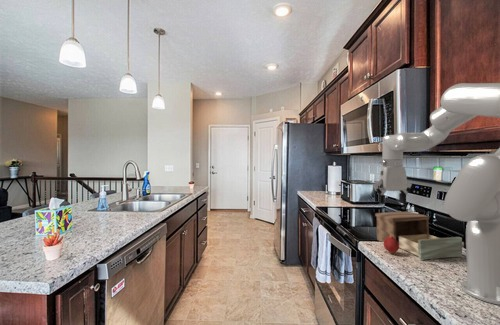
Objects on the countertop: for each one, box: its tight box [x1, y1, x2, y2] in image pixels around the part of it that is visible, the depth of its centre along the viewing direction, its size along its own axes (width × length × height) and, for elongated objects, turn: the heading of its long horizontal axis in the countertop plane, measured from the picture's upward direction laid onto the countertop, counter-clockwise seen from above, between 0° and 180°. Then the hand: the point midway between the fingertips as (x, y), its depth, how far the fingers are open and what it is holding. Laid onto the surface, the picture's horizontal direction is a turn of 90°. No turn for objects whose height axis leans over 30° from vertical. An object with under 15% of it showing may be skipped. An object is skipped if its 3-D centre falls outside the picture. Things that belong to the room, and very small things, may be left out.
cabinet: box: [374, 210, 430, 243], centre depth 117 cm, size 12×19×14 cm
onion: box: [383, 235, 400, 254], centre depth 103 cm, size 6×6×8 cm
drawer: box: [398, 233, 463, 261], centre depth 103 cm, size 15×19×8 cm
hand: (392, 203), depth 103 cm, fingers open, 9 cm apart
